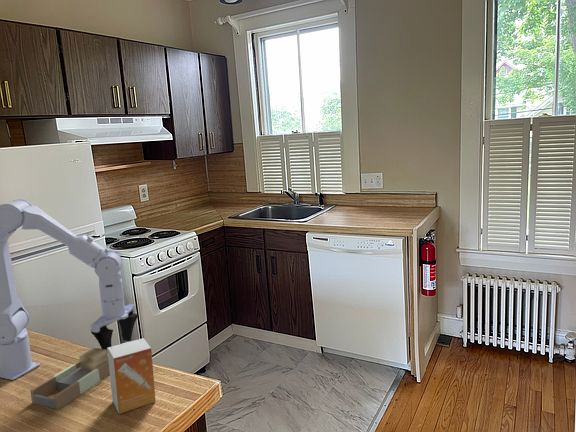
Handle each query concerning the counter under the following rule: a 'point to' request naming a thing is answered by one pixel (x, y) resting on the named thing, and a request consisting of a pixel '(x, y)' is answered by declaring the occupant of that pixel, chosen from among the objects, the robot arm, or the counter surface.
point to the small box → (131, 375)
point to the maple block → (93, 358)
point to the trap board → (68, 385)
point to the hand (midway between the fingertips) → (117, 346)
